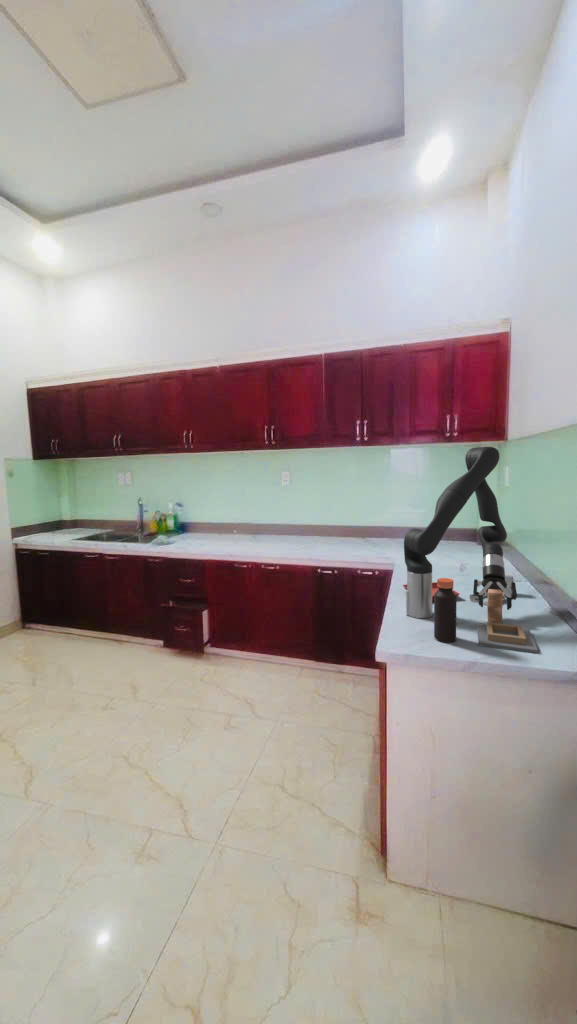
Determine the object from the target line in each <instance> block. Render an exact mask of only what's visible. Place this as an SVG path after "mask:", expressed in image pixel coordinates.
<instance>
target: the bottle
mask: <svg viewBox="0 0 577 1024" xmlns="http://www.w3.org/2000/svg"><path fill="white" fill-rule="evenodd" d="M436 582H437V586H438V591H437V592H436V593H435V594H434V601H433V603H434V604H433V605H434V606H433V607H434V609H433V617H434V618H433V625H434V626H433V631H434V632H433V636H434V637H433V638H434V639H435V640H436V641H438V642H441V643H445V642H450V643H454V642H455V641H456V640H457V597H456V595H455V593H454V592H453V591H452V590H454V580H453V579H452V578H448V577H447V578H446V577H441V578H437V581H436Z"/></svg>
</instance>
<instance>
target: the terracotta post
mask: <svg viewBox="0 0 577 1024" xmlns="http://www.w3.org/2000/svg"><path fill="white" fill-rule="evenodd" d="M487 602H488V606H487V610H486V611H487V622H489V623H498V624H503V593H502V590H494V589H488V596H487Z"/></svg>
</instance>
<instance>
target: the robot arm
mask: <svg viewBox="0 0 577 1024" xmlns="http://www.w3.org/2000/svg"><path fill="white" fill-rule="evenodd" d="M464 457H465V459H464V460H465V466H466V469H467V472H465V473H464V474H463V475H461V476H460V477H459V478H457V479H455V480H454V481H452V482H451V483H450V484H449V485H447V487H445V488H444V490H443V492H442V493H441V494H440V496H439V497H438V498H437V501H436V504H435V510H434V516H433V518H432V520H431V521H430V522H429V524H428V525H427V526H426V528H424V529H419V528H411V529H409V530H408V531H407V532H406V534H405V535H404V539H403V552H404V554H403V555H404V563H405V565H406V578H407V579H406V585H407V590H406V593H405V595H406V599H405V602H406V603H405V604H406V605H405V606H406V607H405V608H406V613H405V614H406V616H410V617H412V618H416V619H428V618H431V617H432V616H433V601H432V583H433V565H432V563H431V562H430V561H429V560H428V558H427V556H428V555H431V554H432V553H433V552H434V551H435V550H436V549H437V547H438V545H439V544H440V542H441V540H442V538H443V537H444V535H445V534H446V531H447V530H448V529H449V527H450V525H451V524H452V523H453V522H454V520H455V519H456V517H457V516H458V514H459V513H460V512H461V511H462V509H463V508H464V507H465V505H466V504H467V502H468V501H469V499H470V498H471V497H472V495H473V494H475V497H476V501H477V507H478V514H479V519H480V520H481V521H482V522H487V523H492V524H493V525H484V526H483V525H482V526H480V527H479V528H478V529H477V537H478V540H479V542H480V544H481V549H482V567H481V568H482V580H478V579H474V580H473V589H472V590H473V591H472V592H473V593H472V595H474V596H477V597H478V601H479V603H478V605H479V606H480V608H483V607H484V605H483V602H484V597H483V596H484V595H486V594H487V593H488V589H494V590H502V593H503V596H504V597H505V600H506V610H507V611H509V610H510V609H512V606H513V605H512V604H513V603H512V600H514V601H515V600H517V596H518V593H517V586H516V582H515V581H513V582H512V583H506V581H505V574H506V572H505V570H506V569H505V562H504V553H503V551H504V550H503V547H502V546H501V545H500V544H499V543H504V542H505V541H506V540H507V538H508V537H507V536H508V534H507V530H506V528H505V526H504V524H503V522H502V520H501V517H500V511H499V506H498V499H497V497H496V495H495V494H494V491H493V490H492V489H491V487H490V485H489V484H488V482H487V479H486V478H487V477H488V476H489V475H490V474H491V472H493V471H494V469H495V468H496V467H497V465H498V464H499V461H500V452H499V450H498V449H497V448H496V447H494V446H477V447H472V448H470V449H468V451H467V452H466V454H465V456H464ZM480 586H482V589H481V590H480V591H478V588H479V587H480ZM506 587H509V589H511V591H512V595H510V594H509V593H508V592H507V590H506V589H505V588H506Z"/></svg>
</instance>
